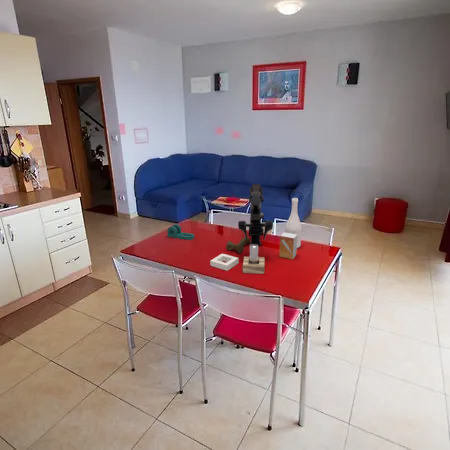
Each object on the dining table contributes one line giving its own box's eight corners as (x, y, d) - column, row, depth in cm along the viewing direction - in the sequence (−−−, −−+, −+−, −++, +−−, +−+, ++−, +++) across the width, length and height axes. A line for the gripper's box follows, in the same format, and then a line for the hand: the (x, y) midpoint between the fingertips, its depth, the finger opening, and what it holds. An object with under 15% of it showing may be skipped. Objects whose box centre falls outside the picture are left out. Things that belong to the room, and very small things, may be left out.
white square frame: (222, 258, 179) (222, 253, 178) (238, 262, 173) (238, 258, 172) (210, 265, 171) (210, 260, 170) (227, 270, 165) (227, 265, 164)
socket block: (244, 263, 173) (244, 256, 171) (264, 264, 171) (264, 257, 170) (242, 272, 162) (242, 265, 161) (264, 273, 161) (264, 266, 160)
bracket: (167, 237, 212) (166, 226, 210) (173, 234, 218) (172, 223, 215) (191, 240, 206) (190, 229, 203) (196, 237, 212) (195, 226, 209)
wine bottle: (296, 250, 187) (299, 201, 177) (282, 246, 193) (284, 199, 183) (303, 245, 195) (306, 197, 185) (289, 241, 200) (291, 195, 190)
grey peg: (248, 267, 168) (248, 244, 164) (256, 265, 169) (256, 243, 165) (251, 270, 164) (251, 248, 160) (259, 269, 165) (259, 246, 161)
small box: (279, 256, 179) (279, 235, 175) (282, 252, 185) (283, 232, 180) (292, 259, 176) (294, 238, 171) (296, 255, 181) (297, 234, 176)
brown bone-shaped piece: (253, 246, 196) (235, 256, 181) (240, 243, 202) (222, 253, 187) (253, 236, 195) (235, 246, 179) (240, 234, 200) (221, 243, 185)
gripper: (238, 207, 170) (237, 234, 164) (273, 207, 168) (273, 234, 162) (239, 215, 180) (238, 241, 174) (272, 216, 178) (272, 242, 172)
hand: (255, 239), depth 170 cm, fingers open, 9 cm apart
